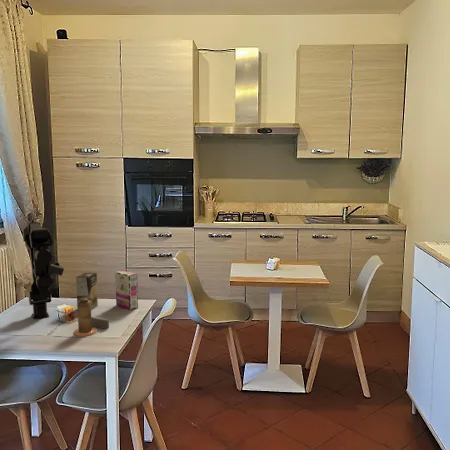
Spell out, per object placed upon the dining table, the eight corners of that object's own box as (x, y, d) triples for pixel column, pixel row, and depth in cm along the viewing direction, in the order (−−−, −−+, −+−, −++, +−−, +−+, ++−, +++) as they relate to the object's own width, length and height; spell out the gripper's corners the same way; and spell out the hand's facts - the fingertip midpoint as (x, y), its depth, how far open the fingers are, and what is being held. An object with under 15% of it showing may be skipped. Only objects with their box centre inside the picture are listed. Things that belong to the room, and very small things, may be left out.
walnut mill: (80, 328, 197) (79, 297, 195) (93, 328, 197) (91, 297, 195) (77, 333, 192) (75, 301, 190) (90, 332, 192) (88, 301, 190)
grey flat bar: (86, 324, 203) (86, 316, 202) (88, 324, 204) (87, 316, 203) (107, 328, 198) (107, 320, 198) (109, 328, 199) (108, 319, 199)
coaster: (72, 330, 196) (71, 329, 196) (94, 326, 201) (94, 325, 200) (76, 337, 189) (76, 336, 188) (99, 333, 193) (99, 332, 193)
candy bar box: (138, 307, 225) (137, 273, 223) (130, 310, 222) (129, 275, 219) (124, 302, 233) (123, 269, 230) (115, 305, 229) (114, 271, 227)
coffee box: (90, 311, 220) (88, 277, 217) (77, 311, 221) (75, 277, 218) (98, 305, 229) (96, 272, 226) (85, 305, 230) (84, 272, 227)
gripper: (65, 261, 192) (67, 299, 195) (58, 253, 209) (60, 288, 211) (36, 264, 187) (38, 303, 189) (30, 256, 204) (32, 291, 206)
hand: (43, 296), depth 199 cm, fingers open, 9 cm apart
